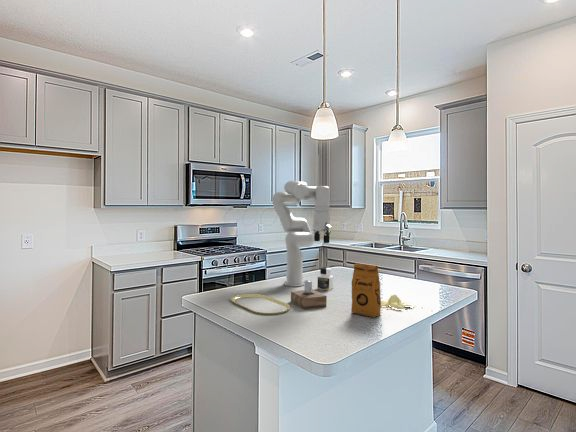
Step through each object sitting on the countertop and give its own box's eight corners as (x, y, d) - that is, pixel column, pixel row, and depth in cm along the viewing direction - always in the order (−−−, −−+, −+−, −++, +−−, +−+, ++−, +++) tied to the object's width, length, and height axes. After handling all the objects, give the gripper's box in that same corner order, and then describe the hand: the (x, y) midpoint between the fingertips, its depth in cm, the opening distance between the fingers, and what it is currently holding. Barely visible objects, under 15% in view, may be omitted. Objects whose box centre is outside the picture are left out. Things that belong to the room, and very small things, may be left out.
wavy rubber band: (264, 319, 146) (264, 315, 146) (224, 300, 173) (224, 297, 173) (298, 311, 157) (298, 307, 157) (256, 295, 185) (256, 292, 185)
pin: (303, 301, 168) (303, 280, 168) (309, 300, 170) (309, 280, 169) (306, 303, 165) (306, 282, 165) (313, 302, 167) (313, 281, 166)
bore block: (290, 301, 171) (290, 291, 171) (312, 298, 176) (312, 289, 176) (303, 309, 159) (303, 298, 158) (326, 306, 164) (326, 295, 164)
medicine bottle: (317, 289, 198) (317, 268, 198) (321, 286, 204) (322, 266, 204) (329, 290, 195) (329, 269, 194) (333, 288, 201) (333, 267, 200)
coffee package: (374, 320, 145) (375, 267, 144) (348, 314, 152) (348, 264, 152) (384, 314, 152) (385, 264, 152) (358, 308, 160) (359, 261, 160)
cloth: (363, 306, 167) (364, 293, 167) (387, 299, 179) (387, 287, 179) (404, 317, 150) (405, 303, 150) (427, 310, 161) (428, 297, 161)
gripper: (308, 209, 189) (307, 240, 190) (324, 209, 174) (323, 244, 174) (320, 209, 192) (319, 240, 193) (337, 210, 177) (336, 243, 177)
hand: (321, 242), depth 183 cm, fingers open, 9 cm apart
